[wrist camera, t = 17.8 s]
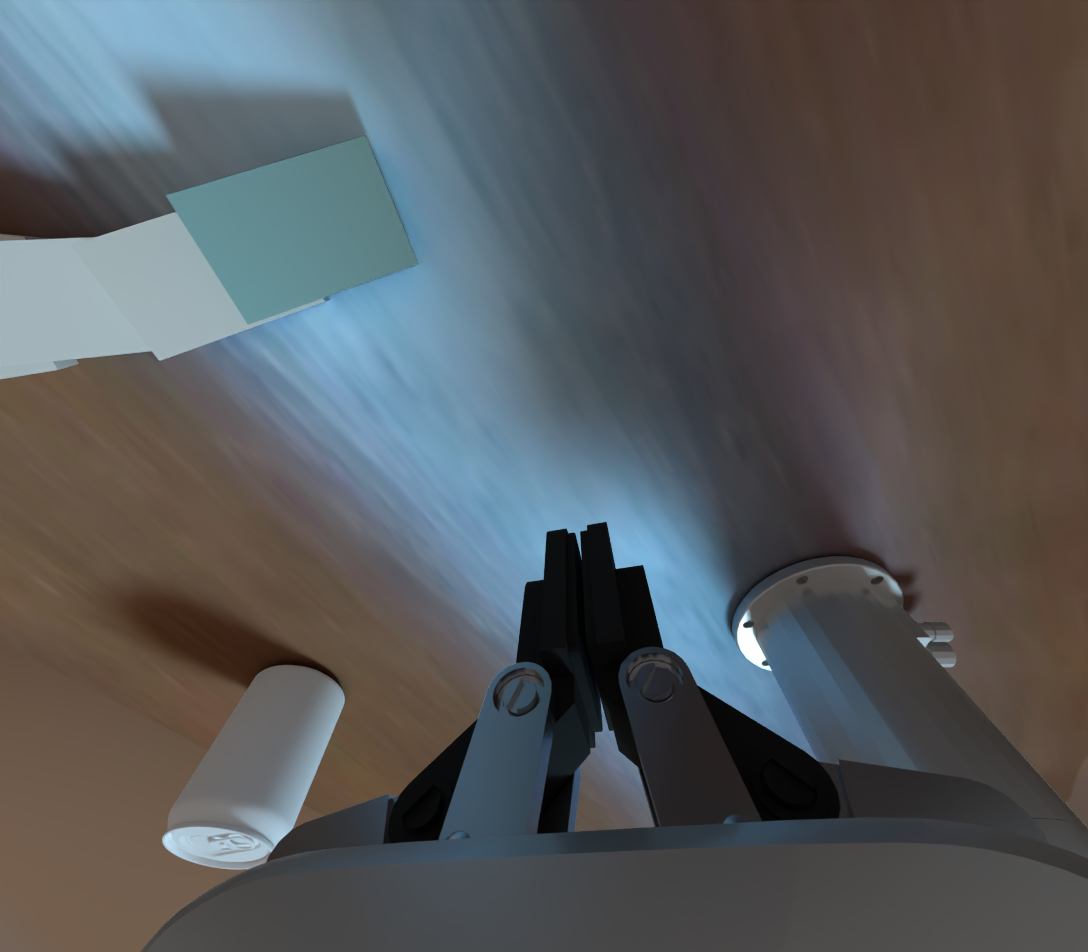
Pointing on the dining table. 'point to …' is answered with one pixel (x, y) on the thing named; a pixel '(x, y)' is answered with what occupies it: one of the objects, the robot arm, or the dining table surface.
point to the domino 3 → (297, 228)
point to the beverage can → (256, 770)
